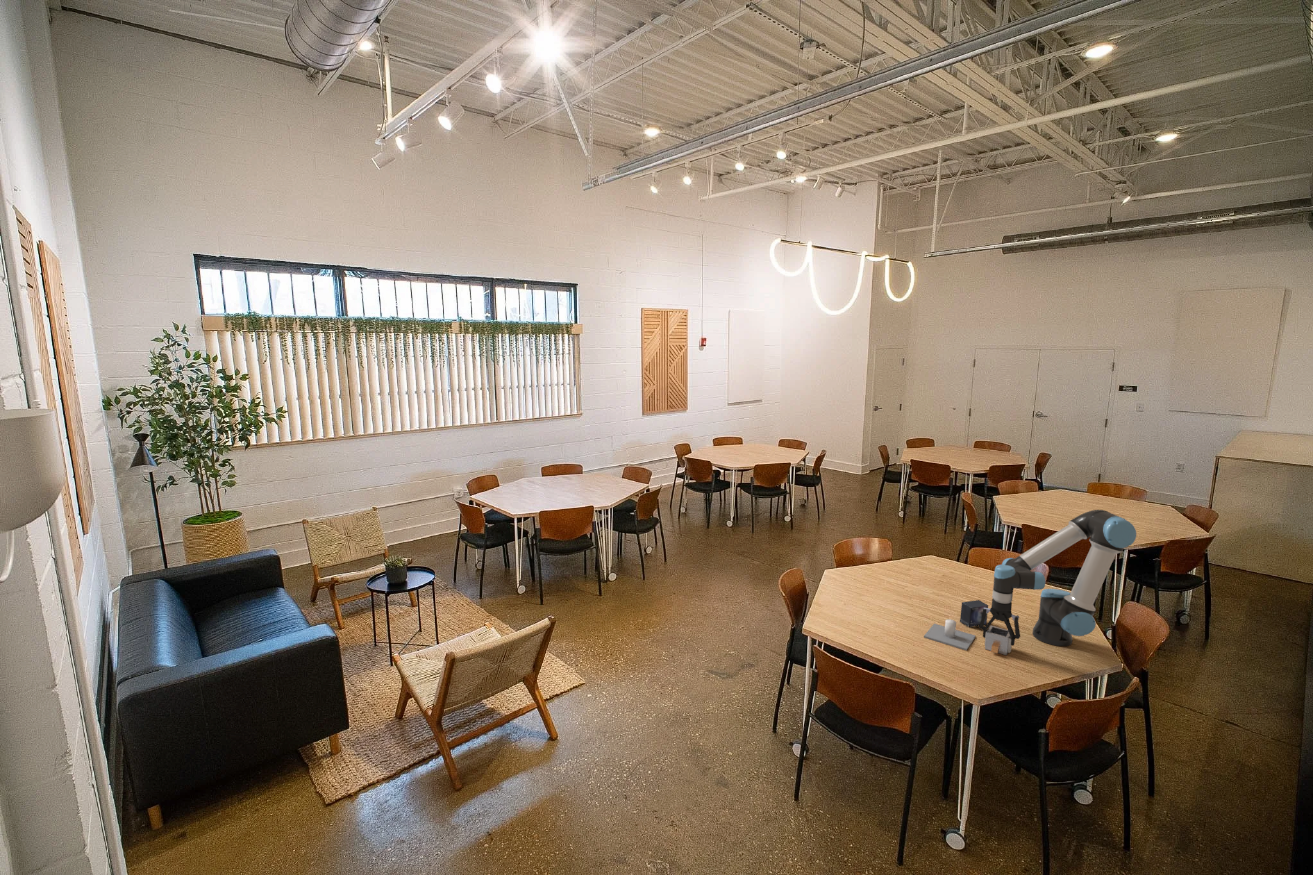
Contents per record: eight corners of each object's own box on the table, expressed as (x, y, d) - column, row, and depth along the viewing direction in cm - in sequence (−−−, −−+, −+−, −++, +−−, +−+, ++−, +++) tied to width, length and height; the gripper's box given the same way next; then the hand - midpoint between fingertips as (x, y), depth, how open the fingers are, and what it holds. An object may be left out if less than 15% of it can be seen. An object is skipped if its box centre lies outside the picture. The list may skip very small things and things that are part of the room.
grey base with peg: (975, 637, 266) (976, 621, 265) (966, 650, 254) (967, 634, 253) (934, 624, 278) (935, 609, 277) (923, 637, 266) (924, 621, 265)
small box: (969, 628, 275) (971, 607, 273) (959, 622, 281) (960, 601, 279) (987, 625, 278) (989, 604, 276) (976, 619, 284) (978, 599, 282)
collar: (1010, 647, 256) (1011, 631, 255) (1005, 658, 248) (1006, 640, 247) (989, 641, 262) (990, 625, 261) (983, 651, 253) (984, 634, 252)
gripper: (1031, 604, 248) (1026, 652, 252) (977, 590, 262) (973, 637, 266) (1028, 610, 243) (1023, 659, 246) (973, 596, 257) (969, 643, 260)
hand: (997, 647), depth 256 cm, fingers closed on collar, 8 cm apart
